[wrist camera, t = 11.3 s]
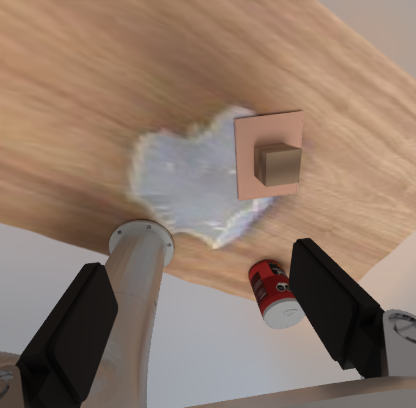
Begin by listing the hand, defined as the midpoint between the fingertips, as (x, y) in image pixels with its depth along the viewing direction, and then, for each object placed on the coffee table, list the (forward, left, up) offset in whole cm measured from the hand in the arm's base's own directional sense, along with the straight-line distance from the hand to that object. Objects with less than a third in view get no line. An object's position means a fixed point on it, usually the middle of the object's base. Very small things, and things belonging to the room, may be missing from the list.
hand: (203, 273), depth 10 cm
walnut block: (+5, -12, -26) cm, 29 cm away
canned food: (-19, -24, -27) cm, 41 cm away
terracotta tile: (+5, -12, -27) cm, 30 cm away
